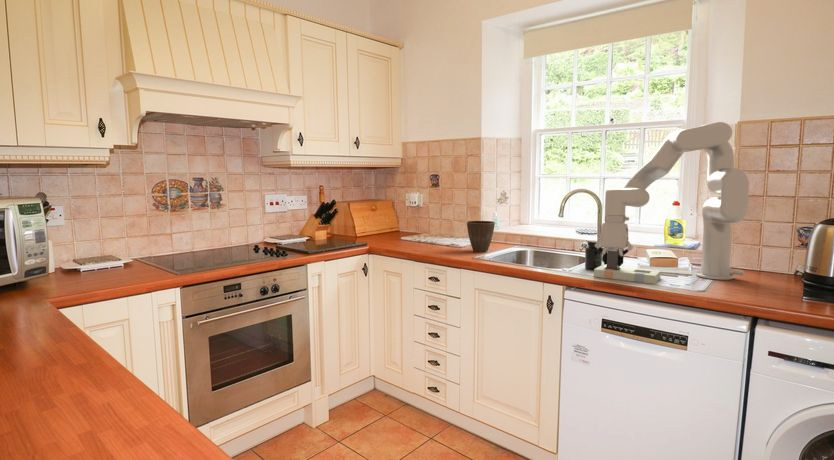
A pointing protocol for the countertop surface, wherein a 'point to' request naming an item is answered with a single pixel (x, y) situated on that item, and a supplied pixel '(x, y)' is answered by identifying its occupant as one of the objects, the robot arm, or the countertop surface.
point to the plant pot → (480, 234)
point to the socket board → (628, 274)
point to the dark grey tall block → (613, 259)
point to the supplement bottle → (592, 256)
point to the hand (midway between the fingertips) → (612, 264)
